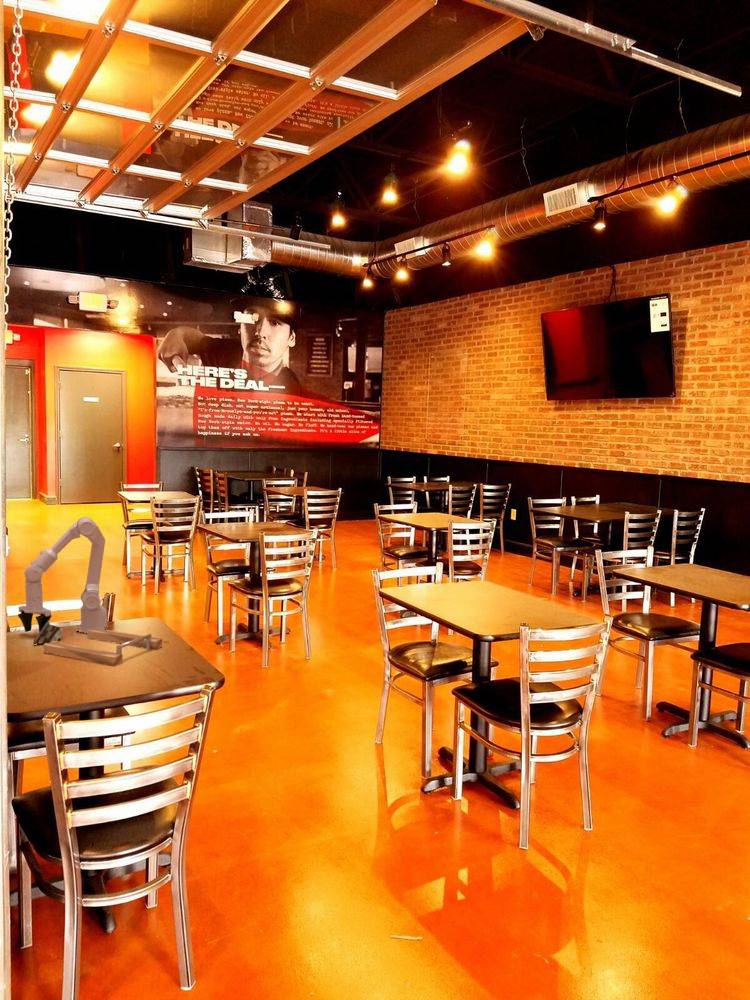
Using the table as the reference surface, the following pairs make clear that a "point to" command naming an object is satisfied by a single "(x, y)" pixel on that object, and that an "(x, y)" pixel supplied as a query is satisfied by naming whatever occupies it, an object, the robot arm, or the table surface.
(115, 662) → the shelf board
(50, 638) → the chocolate cake
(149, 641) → the hook bar
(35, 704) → the table surface
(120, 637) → the shelf board
